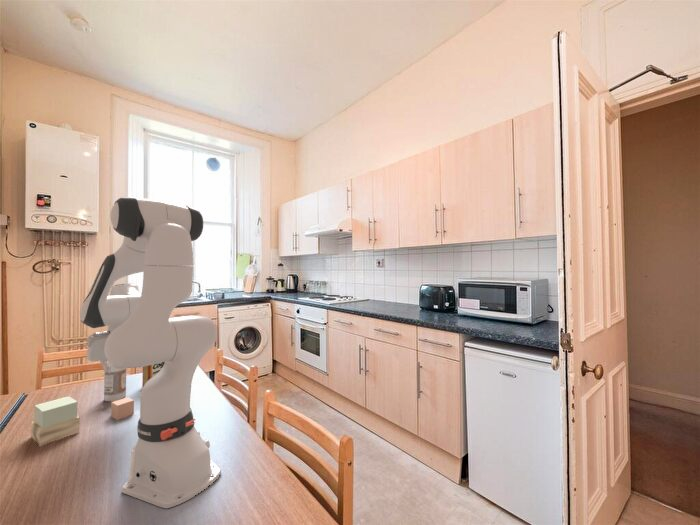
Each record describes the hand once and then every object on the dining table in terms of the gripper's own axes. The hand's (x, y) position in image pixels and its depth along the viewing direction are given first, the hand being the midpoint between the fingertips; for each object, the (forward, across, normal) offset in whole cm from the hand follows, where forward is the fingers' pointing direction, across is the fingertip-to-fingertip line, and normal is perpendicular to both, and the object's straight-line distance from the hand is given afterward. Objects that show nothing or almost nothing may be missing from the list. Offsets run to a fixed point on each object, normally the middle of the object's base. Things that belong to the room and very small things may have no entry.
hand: (123, 367), depth 108 cm
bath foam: (+17, +5, +19) cm, 26 cm away
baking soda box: (+17, +21, +19) cm, 33 cm away
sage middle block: (+12, -17, +3) cm, 21 cm away
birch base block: (+17, -17, +3) cm, 24 cm away
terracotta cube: (+17, 0, 0) cm, 17 cm away
